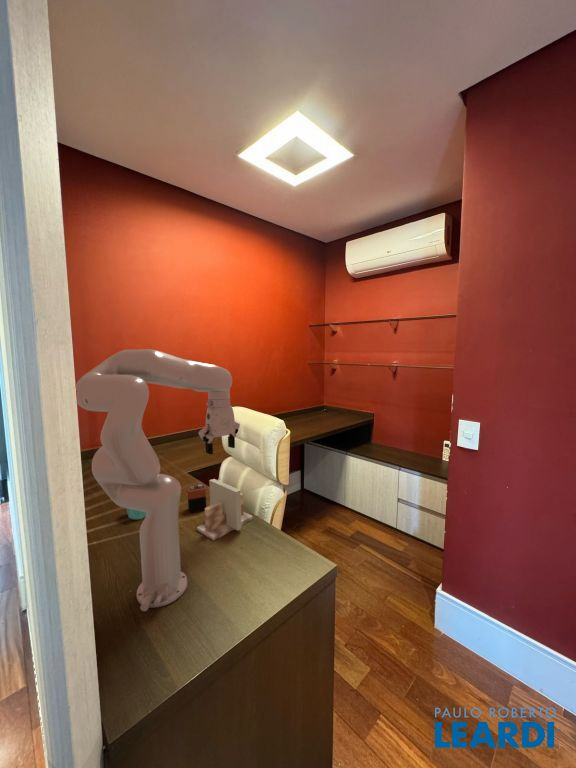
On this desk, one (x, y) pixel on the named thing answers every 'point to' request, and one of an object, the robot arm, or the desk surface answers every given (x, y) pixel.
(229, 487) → the beige rectangular panel
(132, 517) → the decorative dice
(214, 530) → the stand
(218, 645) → the desk surface
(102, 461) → the robot arm
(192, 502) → the battery
